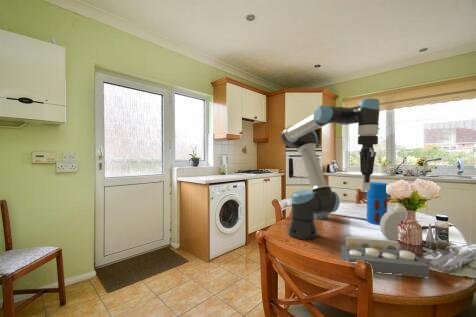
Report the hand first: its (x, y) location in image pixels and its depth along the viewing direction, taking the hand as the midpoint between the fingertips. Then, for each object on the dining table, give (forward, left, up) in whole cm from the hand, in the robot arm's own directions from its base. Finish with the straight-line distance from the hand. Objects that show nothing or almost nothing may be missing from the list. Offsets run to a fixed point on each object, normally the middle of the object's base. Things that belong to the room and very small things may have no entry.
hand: (365, 189), depth 95 cm
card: (+2, -2, -28) cm, 28 cm away
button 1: (-7, -11, -27) cm, 30 cm away
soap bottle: (+23, +21, -28) cm, 42 cm away
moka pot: (-10, +52, -28) cm, 60 cm away
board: (+2, -11, -28) cm, 30 cm away
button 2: (-1, -11, -25) cm, 27 cm away
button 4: (+11, -11, -25) cm, 29 cm away
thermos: (+23, +48, -28) cm, 61 cm away
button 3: (+5, -11, -27) cm, 29 cm away
